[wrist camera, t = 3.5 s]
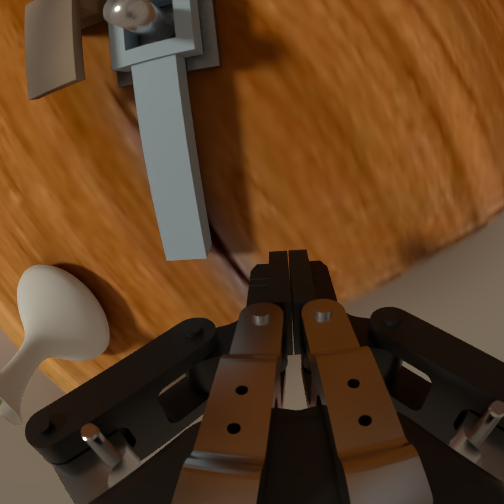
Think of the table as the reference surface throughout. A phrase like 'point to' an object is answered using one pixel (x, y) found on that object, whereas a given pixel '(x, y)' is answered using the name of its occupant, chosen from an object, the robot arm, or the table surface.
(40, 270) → the flower in vase
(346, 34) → the table surface
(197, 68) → the pintle block
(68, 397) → the robot arm
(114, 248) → the table surface
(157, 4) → the link
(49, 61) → the block
